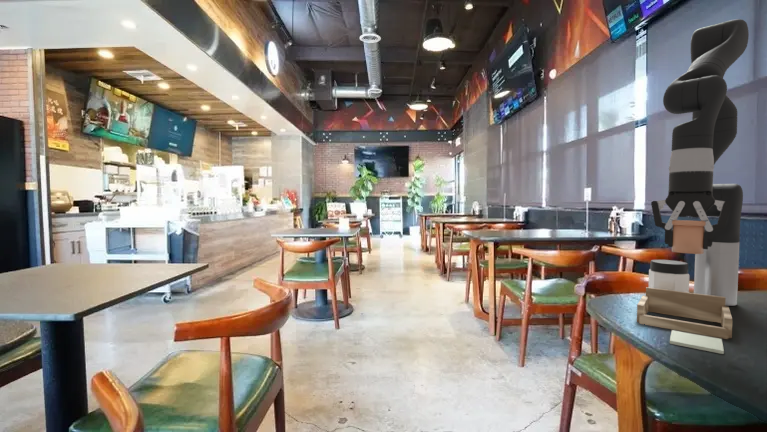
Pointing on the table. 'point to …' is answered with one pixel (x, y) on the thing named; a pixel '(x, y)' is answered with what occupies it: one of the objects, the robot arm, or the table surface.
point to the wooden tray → (685, 312)
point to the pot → (688, 236)
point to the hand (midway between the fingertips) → (687, 247)
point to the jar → (669, 275)
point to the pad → (697, 341)
